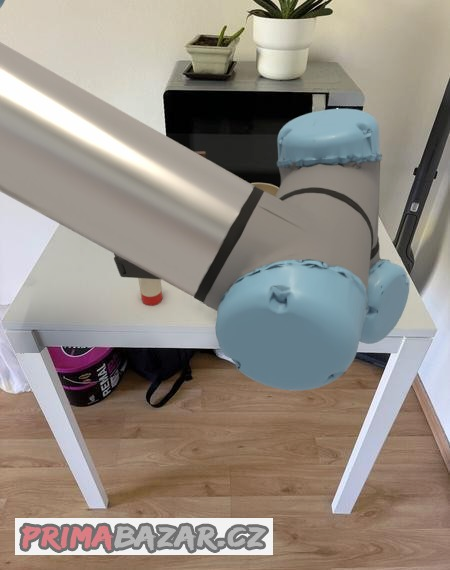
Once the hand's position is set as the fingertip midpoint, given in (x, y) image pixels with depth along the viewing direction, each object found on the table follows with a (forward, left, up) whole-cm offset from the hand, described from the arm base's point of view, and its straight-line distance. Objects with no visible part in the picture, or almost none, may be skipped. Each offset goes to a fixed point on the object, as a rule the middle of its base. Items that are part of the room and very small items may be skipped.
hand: (148, 216), depth 62 cm
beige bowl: (+20, +29, -20) cm, 40 cm away
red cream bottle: (-2, +5, -19) cm, 20 cm away
